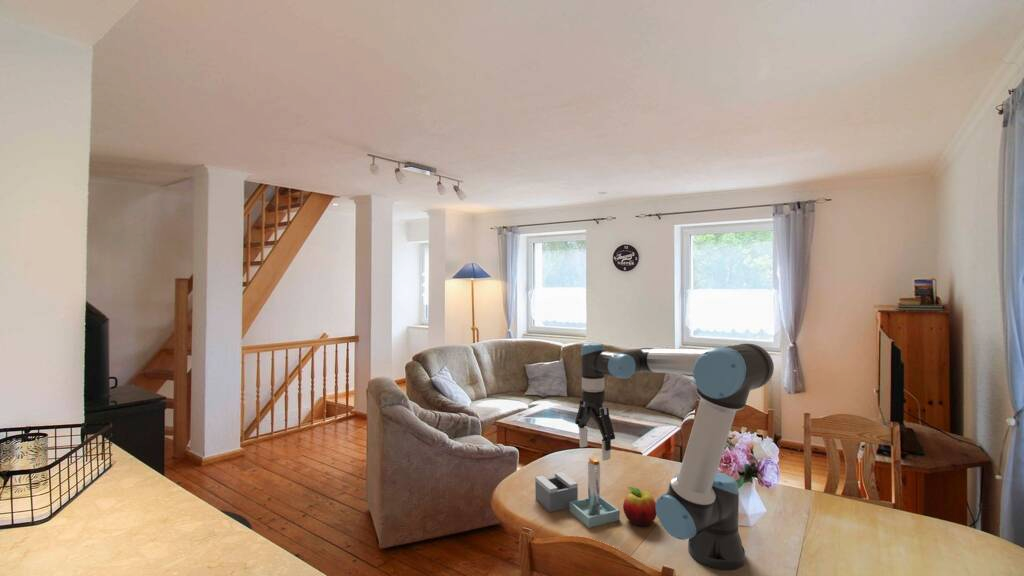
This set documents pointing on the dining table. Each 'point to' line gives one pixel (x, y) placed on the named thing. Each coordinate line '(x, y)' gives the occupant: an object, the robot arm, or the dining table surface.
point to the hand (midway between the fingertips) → (594, 452)
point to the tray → (605, 516)
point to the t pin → (593, 487)
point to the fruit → (639, 507)
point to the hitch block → (556, 491)
